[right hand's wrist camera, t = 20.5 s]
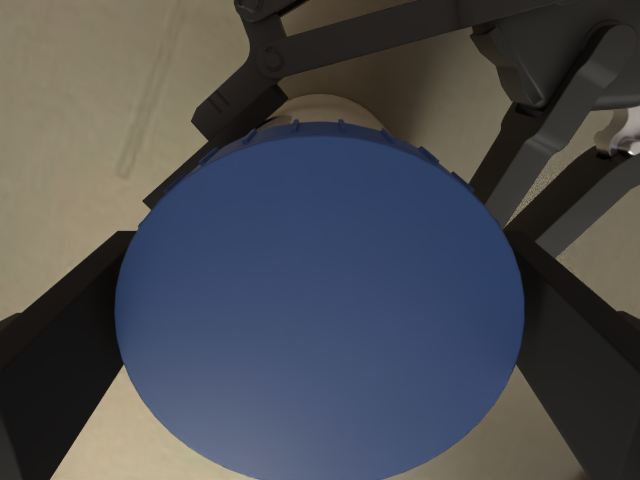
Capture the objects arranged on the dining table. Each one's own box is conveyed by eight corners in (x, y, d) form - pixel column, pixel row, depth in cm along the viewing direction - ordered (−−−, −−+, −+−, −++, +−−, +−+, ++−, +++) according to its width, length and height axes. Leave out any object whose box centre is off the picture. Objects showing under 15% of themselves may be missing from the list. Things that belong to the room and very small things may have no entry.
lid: (71, 291, 12) (26, 335, 10) (326, 24, 10) (328, 16, 8) (314, 477, 15) (314, 540, 13) (564, 301, 12) (610, 346, 10)
